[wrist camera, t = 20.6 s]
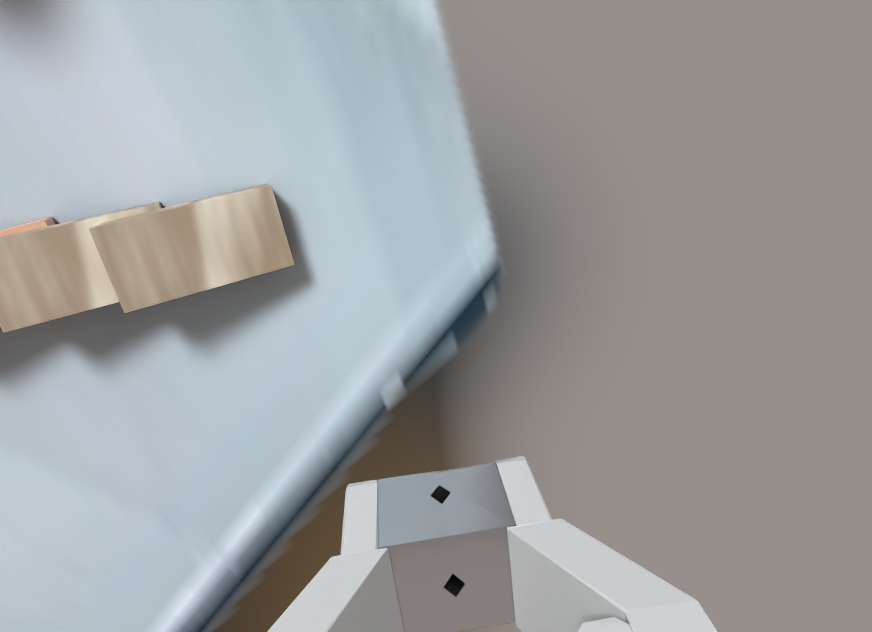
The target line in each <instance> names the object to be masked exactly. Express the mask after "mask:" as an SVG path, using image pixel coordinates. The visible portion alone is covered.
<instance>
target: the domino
mask: <svg viewBox="0 0 872 632" xmlns="http://www.w3.org/2000/svg"><path fill="white" fill-rule="evenodd" d="M161 208H162V206H161V204H160V202H157V203H152V204H147V205H143V206H138V207H134V208H129V209H125V210H120V211H115V212H111V213H106V214H102V215H97V216H93V217H88V218H84V219H79V220H74V221H70V222H65V223H61V224H56V225H52V226H47V227H43V228H38V229H33V230H29V231H24V232H20V233H15V234H11V235H6V236H1V237H0V327H1V329H2V331H3V333H5V332H9V331H12V330H16V329H20V328H24V327H27V326H31V325H35V324H39V323H42V322H46V321H50V320H54V319H57V318H61V317H65V316H69V315H72V314H76V313H80V312H84V311H87V310H91V309H95V308H98V307H102V306H106V305H110V304H113V303H117V302H119V300H118V297H117V295H116V292H115V290H114V288H113V285H112V283H111V281H110V278H109V276H108V274H107V271H106V269H105V266H104V264H103V262H102V259H101V257H100V255H99V252H98V250H97V248H96V245H95V243H94V241H93V238H92V236H91V233H90V231H89V228H90V227H92V226H93V225H94V224H98V223H102V222H106V221H111V220H115V219H119V218H123V217H128V216H132V215H136V214H140V213H145V212H149V211H153V210H157V209H161Z"/></svg>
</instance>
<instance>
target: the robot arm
mask: <svg viewBox="0 0 872 632" xmlns="http://www.w3.org/2000/svg"><path fill="white" fill-rule="evenodd" d="M509 623H516V626H517V627H518V628H519V629H520V630H521V631H522V632H717V631H716V629H715V627H714V626H713V624H712V623H711V621H710V620H709V618H708V616H707V615H706V613H705V612H704V610H703V609H702V607H701V606H700V604H699V603H698V601H697V600H696V599H694V598H692V597H691V596H689V595H687V594H686V593H684V592H682V591H680V590H679V589H677V588H675V587H674V586H672V585H670V584H669V583H667V582H666V581H664V580H662V579H661V578H659V577H658V576H656V575H654V574H652V573H651V572H649V571H647V570H646V569H644V568H642V567H641V566H639V565H638V564H636V563H634V562H632V561H631V560H629V559H628V558H626V557H624V556H623V555H621V554H619V553H618V552H616V551H614V550H613V549H611V548H609V547H608V546H606V545H605V544H603V543H601V542H599V541H598V540H596V539H595V538H593V537H591V536H589V535H588V534H586V533H585V532H583V531H581V530H580V529H578V528H576V527H575V526H573V525H571V524H569V523H568V522H566V521H565V520H563V519H556V520H552V518H551V515H550V513H549V510H548V508H547V506H546V503H545V501H544V499H543V496H542V494H541V492H540V489H539V487H538V485H537V482H536V480H535V478H534V475H533V473H532V471H531V468H530V466H529V464H528V461H527V459H526V458H525V457H523V456H519V457H514V458H509V459H503V460H499V461H495V462H493V463H487V464H481V465H475V466H469V467H463V468H457V469H451V470H445V471H439V472H437V471H435V472H428V473H421V474H414V475H407V476H400V477H392V478H386V479H379V481H377V480H372V481H366V482H359V483H353V484H349V485H348V487H347V489H346V497H345V508H344V520H343V533H342V546H341V555H340V556H334V557H331V558H330V560H328V562H327V563H326V564H325V565H324V566H323V568H322V569H321V570H320V571H319V572H318V573H317V575H316V576H315V577H314V578H313V579H312V580H311V581H310V583H309V584H308V585H307V586H306V587H305V588H304V590H303V591H302V592H301V593H300V594H299V596H298V597H297V598H296V599H295V600H294V601H293V602H292V604H291V605H290V606H289V607H288V608H287V609H286V611H285V612H284V613H283V614H282V615H281V616H280V618H279V619H278V620H277V621H276V622H275V623H274V625H273V626H272V627H271V628H270V629H269V630H268V632H455V631H460V630H467V629H475V628H481V627H488V626H495V625H502V624H509ZM460 628H461V629H460Z"/></svg>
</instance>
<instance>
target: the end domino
mask: <svg viewBox="0 0 872 632" xmlns="http://www.w3.org/2000/svg"><path fill="white" fill-rule="evenodd" d="M89 231H90V233H91V236H92V238H93V241H94V243H95V245H96V248H97V250H98V252H99V255H100V257H101V259H102V262H103V264H104V266H105V269H106V271H107V274H108V276H109V278H110V281H111V283H112V285H113V288H114V290H115V292H116V295H117V297H118V300H119V302H120V304H121V307H122V309H123V311H124V313H128V312H131V311H135V310H138V309H142V308H145V307H149V306H152V305H156V304H159V303H163V302H166V301H170V300H173V299H177V298H180V297H184V296H187V295H191V294H194V293H198V292H201V291H205V290H208V289H212V288H215V287H219V286H222V285H226V284H229V283H233V282H236V281H240V280H243V279H247V278H250V277H254V276H257V275H261V274H264V273H268V272H271V271H275V270H278V269H282V268H286V267H289V266H293V265H295V264H294V261H293V258H292V254H291V251H290V247H289V244H288V241H287V237H286V234H285V230H284V227H283V224H282V220H281V217H280V213H279V210H278V207H277V203H276V200H275V196H274V193H273V190H272V186H271V185H269V184H263V185H259V186H255V187H250V188H246V189H242V190H238V191H234V192H229V193H225V194H221V195H217V196H212V197H208V198H204V199H200V200H195V201H191V202H187V203H183V204H178V205H174V206H170V207H166V208H161V209H157V210H153V211H149V212H145V213H140V214H136V215H132V216H128V217H123V218H119V219H115V220H111V221H106V222H102V223H98V224H94V225H93V226H92V227H90V228H89Z"/></svg>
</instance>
